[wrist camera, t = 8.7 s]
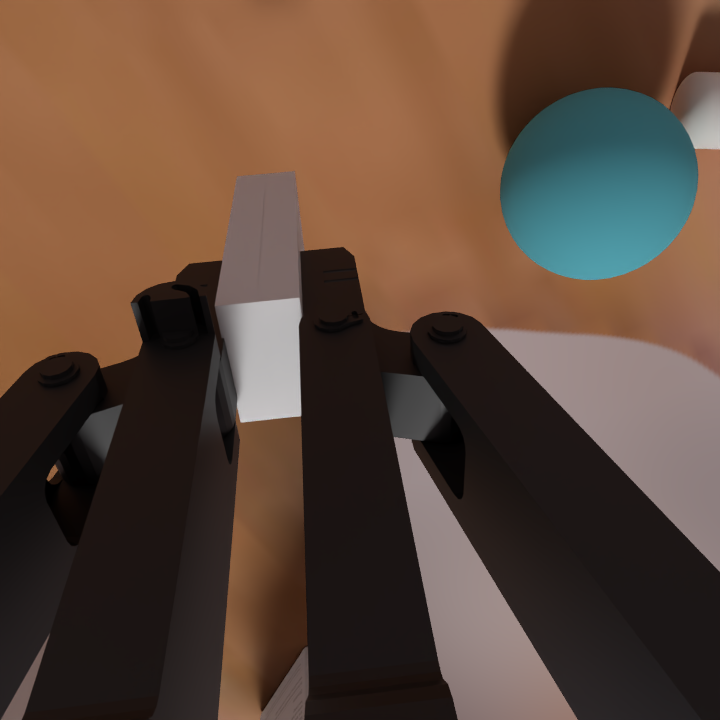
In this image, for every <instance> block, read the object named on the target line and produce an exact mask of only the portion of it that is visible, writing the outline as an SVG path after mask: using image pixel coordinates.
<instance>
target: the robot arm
mask: <svg viewBox="0 0 720 720" xmlns="http://www.w3.org/2000/svg"><path fill="white" fill-rule="evenodd" d="M131 306H132V309H133V313H134V316H135V319H136V322H137V325H138V328H139V332H140V335H141V338H142V341H143V343H142V346H141V349H140V352H139V356H137V357H135V358H133V359H130V360H127V361H124V362H121V363H118V364H114V365H111V366H108V367H104V368H100V366H99V363H98V360H97V358H95V357H94V356H92V355H91V354H89V353H83V352H67V353H66V352H65V353H59V354H57V355H52V356H49V357H47V358H46V359H44V360H42V361H40V362H38V363H36V364H34V365H33V366H32V367H30V368H29V369H28V370H27V371H25V372H24V373H23V374H22V375H21V377H20V378H19V379H18V380H17V381H16V382H15V383H14V384H13V385H12V386H11V387H10V388H9V389H8V391H7V392H6V393H5V394H4V395H3V396H2V397H1V398H0V720H1V719H2V717H3V715H4V713H5V711H6V710H7V708H8V706H9V704H10V703H11V701H12V699H13V697H14V696H15V694H16V692H17V690H18V689H19V687H20V685H21V683H22V682H23V680H24V678H25V676H26V674H27V673H28V671H29V669H30V667H31V666H32V664H33V662H34V660H35V659H36V657H37V655H38V653H39V652H40V650H41V648H42V646H43V645H44V643H45V641H46V639H47V637H48V636H49V638H48V641H47V644H46V647H45V650H44V654H43V657H42V660H41V663H40V666H39V669H38V672H37V676H36V679H35V682H34V685H33V688H32V691H31V694H30V698H29V701H28V704H27V707H26V710H25V713H24V715H23V718H22V720H218V708H219V695H220V683H221V670H222V658H223V645H224V633H225V620H226V607H227V595H228V582H229V570H230V557H231V544H232V532H233V519H234V507H235V494H236V481H237V469H238V456H239V444H240V439H239V434H238V430H237V425H236V421H235V419H236V408H238V412H239V417H240V421H241V422H250V421H259V420H268V419H277V418H287V417H296V416H301V425H302V461H303V496H304V531H305V567H306V602H307V638H308V673H309V691H308V697H307V699H306V701H305V714H304V720H458V719H457V715H456V711H455V707H454V702H453V698H452V695H451V692H450V689H449V686H448V684H447V683H446V681H444V679H443V677H442V674H441V671H440V667H439V662H438V657H437V652H436V647H435V642H434V637H433V633H432V628H431V622H430V618H429V613H428V607H427V603H426V597H425V592H424V588H423V582H422V577H421V572H420V567H419V562H418V558H417V552H416V547H415V543H414V537H413V532H412V527H411V522H410V517H409V513H408V508H407V502H406V497H405V492H404V487H403V483H402V477H401V472H400V467H399V462H398V458H397V453H396V447H395V443H394V437H398V438H406V439H412V443H413V447H414V450H415V451H416V453H417V455H418V456H419V458H420V460H421V461H422V463H423V465H424V466H425V468H426V470H427V471H428V473H429V474H430V476H431V478H432V479H433V481H434V483H435V484H436V486H437V488H438V489H439V491H440V492H441V494H442V496H443V498H444V499H445V501H446V503H447V504H448V506H449V508H450V509H451V511H452V512H453V514H454V516H455V517H456V519H457V521H458V522H459V524H460V526H461V527H462V529H463V531H464V532H465V534H466V535H467V537H468V539H469V541H470V542H471V544H472V546H473V547H474V549H475V550H476V552H477V553H478V555H479V557H480V558H481V560H482V562H483V564H484V565H485V567H486V569H487V570H488V572H489V574H490V575H491V577H492V578H493V580H494V582H495V583H496V585H497V587H498V588H499V590H500V592H501V593H502V595H503V597H504V598H505V600H506V602H507V603H508V605H509V607H510V608H511V610H512V611H513V613H514V615H515V617H516V618H517V620H518V621H519V623H520V625H521V626H522V628H523V630H524V631H525V633H526V635H527V636H528V638H529V639H530V641H531V643H532V645H533V646H534V648H535V650H536V651H537V653H538V655H539V656H540V658H541V659H542V661H543V663H544V664H545V666H546V668H547V669H548V671H549V673H550V674H551V676H552V678H553V679H554V681H555V683H556V684H557V686H558V687H559V689H560V691H561V692H562V694H563V696H564V697H565V699H566V701H567V702H568V704H569V706H570V707H571V709H572V710H573V712H574V714H575V715H576V717H577V719H578V720H720V572H719V571H718V570H717V569H716V568H715V567H714V566H713V564H712V563H711V562H710V561H709V560H708V559H707V558H706V557H705V556H704V555H703V554H702V553H701V552H700V551H699V550H698V549H697V548H696V547H695V546H694V545H693V544H692V543H691V542H690V540H689V539H688V538H687V537H686V536H685V535H684V534H683V533H682V532H681V531H680V530H679V529H678V528H677V527H676V526H675V525H674V524H673V523H672V522H671V521H670V520H669V519H668V518H667V517H666V516H665V514H664V513H663V512H662V511H661V510H660V509H659V508H658V507H657V506H656V505H655V504H654V503H653V502H652V501H651V500H650V499H649V498H648V497H647V496H646V495H645V494H644V493H643V491H642V490H641V489H640V488H639V487H638V486H637V485H636V484H635V483H634V482H633V481H632V480H631V479H630V478H629V477H628V476H627V475H626V474H625V473H624V472H623V471H622V470H621V469H620V467H619V466H618V465H617V464H616V463H614V461H613V460H612V459H611V458H610V457H609V456H608V455H607V454H606V453H605V452H604V451H603V450H602V449H601V448H600V447H599V446H598V445H597V444H596V442H594V440H593V439H592V438H591V437H590V436H589V435H588V434H587V433H586V432H585V431H584V430H583V429H582V428H581V427H580V426H579V425H578V424H577V423H576V422H575V421H574V420H573V419H572V417H570V415H569V414H568V413H567V412H566V411H565V410H564V409H563V408H562V407H561V406H560V405H559V404H558V403H557V402H556V401H555V400H554V399H553V398H552V397H551V396H550V395H549V393H548V392H547V391H546V390H545V389H544V388H543V387H542V386H541V385H540V384H539V383H538V382H537V381H536V380H535V379H534V378H533V377H532V376H531V375H530V374H529V373H528V372H527V371H526V369H524V368H523V366H522V365H521V364H520V363H518V361H517V360H516V359H515V358H514V357H513V356H512V355H511V354H510V353H509V352H508V351H507V350H506V349H505V348H504V347H503V346H502V344H501V343H500V342H499V341H498V340H497V339H496V338H495V337H494V336H493V335H492V334H491V333H490V332H489V331H488V330H487V329H486V328H485V327H484V326H483V325H482V324H481V323H480V322H479V321H477V320H476V319H474V318H473V317H471V316H468V315H465V314H462V313H457V312H439V313H432V314H429V315H426V316H424V317H421V318H420V319H418V320H417V321H416V322H415V323H414V324H413V325H412V328H411V331H410V333H408V332H398V331H392V330H387V329H384V328H381V327H379V326H377V325H376V324H374V323H372V322H371V321H370V318H369V316H368V315H367V313H366V311H365V309H364V304H363V298H362V293H361V288H360V283H359V279H358V273H357V268H356V263H355V258H354V256H353V255H352V254H351V253H350V252H348V251H347V250H346V249H345V248H344V247H340V248H329V249H319V250H309V251H304V244H303V235H302V227H301V219H300V211H299V203H298V194H297V186H296V178H295V171H292V172H281V173H270V174H259V175H248V176H238V177H237V180H236V186H235V191H234V197H233V203H232V209H231V214H230V220H229V226H228V232H227V237H226V243H225V249H224V255H223V260H222V261H213V262H202V263H192V264H189V265H188V266H186V267H185V268H184V269H183V270H182V271H181V272H180V273H179V274H178V275H177V277H176V281H173V282H167V283H162V284H158V285H156V286H153V287H150V288H148V289H146V290H144V291H143V292H141V293H140V294H138V295H136V297H135V298H134V299H133V301H132V302H131ZM54 464H55V465H56V467H57V469H58V471H57V472H56V474H55V475H54V477H53V478H52V479H51V480H50V481H48V480H47V477H48V475H49V472H50V470H51V469H52V467H53V466H54ZM49 634H50V635H49Z"/></svg>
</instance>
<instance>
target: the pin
mask: <svg viewBox="0 0 720 720" xmlns="http://www.w3.org/2000/svg"><path fill="white" fill-rule="evenodd" d="M670 111H671V112H672V113H673V114H674V115H675V116H676V117H677V118H678V120H679V121H680V122H681V123H682V124H683V126H684V128H685V129H686V131H687V133H688V134H689V136H690V139H691V141H692V144H693V146H694V149H720V72H694V73H691V74H690V75H688V76H687V77H686V78H685V79H684V80H683V81H682V83H681V84H680V86H679V87H678V89H677V91H676V93H675V96H674V98H673V101H672V105H671V109H670Z"/></svg>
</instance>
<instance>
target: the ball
mask: <svg viewBox="0 0 720 720" xmlns="http://www.w3.org/2000/svg"><path fill="white" fill-rule="evenodd" d="M697 185H698V165H697V158H696V154H695V150H694V146H693V144H692V141H691V139H690V136H689V134H688V133H687V131H686V129H685V128H684V126H683V124H682V123H681V122H680V121H679V120H678V118H677V117H676V116H675V115H674V114H673V113H672V112H671V111H670V110H669V109H668V108H666V107H665V106H664V105H663V104H661V103H660V102H658V101H656V100H655V99H653V98H651V97H649V96H647V95H644V94H642V93H639V92H635V91H632V90H628V89H621V88H612V87H609V88H595V89H589V90H584V91H580V92H577V93H574V94H571V95H568V96H566V97H564V98H562V99H559V100H557V101H556V102H554V103H553V104H551V105H549V106H548V107H546V108H545V109H543V110H542V111H541V112H540V113H539V114H537V115H536V116H535V117H534V118H533V119H532V120H531V121H530V122H529V123H528V124H527V125H526V127H525V128H524V129H523V130H522V131H521V133H520V134H519V135H518V137H517V139H516V140H515V142H514V144H513V145H512V147H511V149H510V151H509V153H508V156H507V158H506V161H505V164H504V168H503V172H502V177H501V187H500V200H501V207H502V213H503V216H504V220H505V223H506V226H507V228H508V230H509V232H510V234H511V236H512V238H513V239H514V241H515V242H516V244H517V245H518V246H519V248H520V249H521V250H522V251H523V252H524V253H525V254H526V255H527V256H528V257H529V258H530V259H532V260H533V261H534V262H535V263H537V264H538V265H540V266H542V267H543V268H545V269H547V270H549V271H551V272H554V273H556V274H559V275H562V276H566V277H570V278H575V279H583V280H598V279H605V278H611V277H615V276H619V275H623V274H625V273H628V272H630V271H633V270H635V269H637V268H639V267H641V266H643V265H645V264H647V263H648V262H649V261H651V260H652V259H654V258H655V257H656V256H658V255H659V254H660V253H661V252H662V251H663V250H665V249H666V248H667V247H668V246H669V245H670V244H671V242H672V241H673V240H674V239H675V238H676V236H677V235H678V234H679V232H680V231H681V229H682V228H683V226H684V224H685V223H686V221H687V219H688V217H689V215H690V212H691V210H692V207H693V204H694V201H695V196H696V192H697Z"/></svg>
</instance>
